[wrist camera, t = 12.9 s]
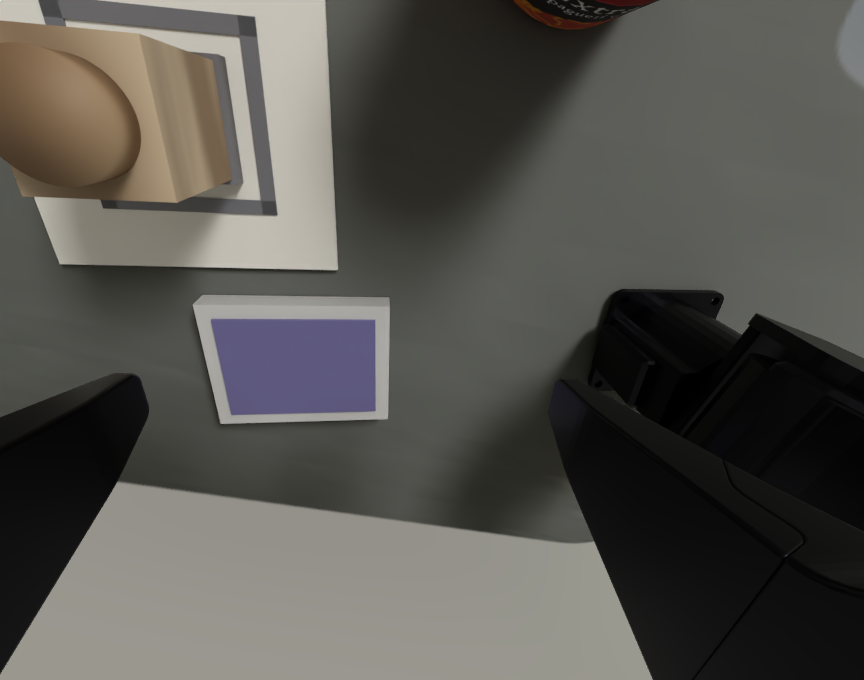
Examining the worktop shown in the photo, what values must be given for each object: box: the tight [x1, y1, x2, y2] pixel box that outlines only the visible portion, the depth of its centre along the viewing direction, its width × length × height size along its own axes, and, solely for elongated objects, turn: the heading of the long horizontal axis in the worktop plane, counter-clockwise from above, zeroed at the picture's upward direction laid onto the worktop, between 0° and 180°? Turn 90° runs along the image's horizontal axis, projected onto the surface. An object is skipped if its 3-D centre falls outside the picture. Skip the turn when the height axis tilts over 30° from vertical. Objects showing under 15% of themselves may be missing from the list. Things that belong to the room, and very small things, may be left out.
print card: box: [0, 0, 338, 270], centre depth 16 cm, size 12×12×1 cm
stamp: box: [0, 20, 243, 203], centre depth 13 cm, size 4×4×7 cm
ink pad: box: [193, 295, 390, 424], centre depth 21 cm, size 9×7×1 cm
